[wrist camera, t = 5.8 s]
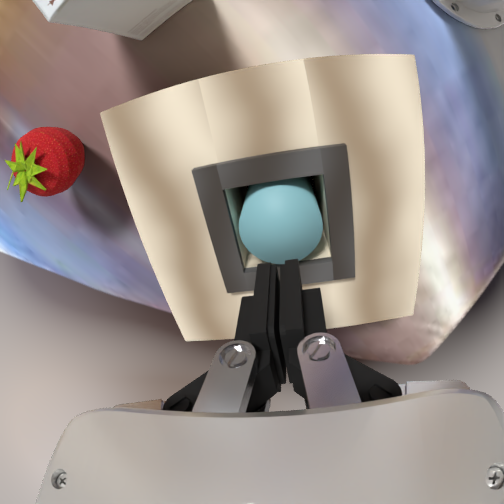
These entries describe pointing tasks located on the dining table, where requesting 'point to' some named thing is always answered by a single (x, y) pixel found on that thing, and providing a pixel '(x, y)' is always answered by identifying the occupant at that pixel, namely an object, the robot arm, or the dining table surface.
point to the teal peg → (281, 220)
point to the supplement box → (112, 14)
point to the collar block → (273, 169)
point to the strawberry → (46, 161)
